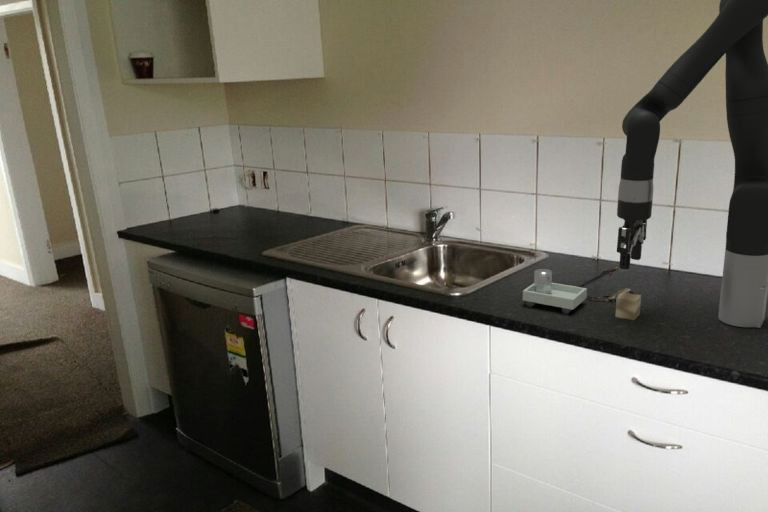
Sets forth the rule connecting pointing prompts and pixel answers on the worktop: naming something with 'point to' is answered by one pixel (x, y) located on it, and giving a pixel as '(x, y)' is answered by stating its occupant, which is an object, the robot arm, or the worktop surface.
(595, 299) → the fantasy weapon
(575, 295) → the footed soap dish
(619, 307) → the brass block
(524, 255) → the worktop surface
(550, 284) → the steel cylinder
